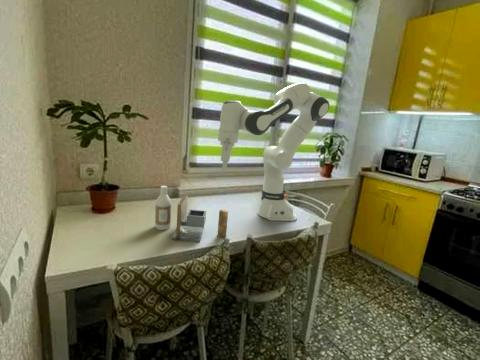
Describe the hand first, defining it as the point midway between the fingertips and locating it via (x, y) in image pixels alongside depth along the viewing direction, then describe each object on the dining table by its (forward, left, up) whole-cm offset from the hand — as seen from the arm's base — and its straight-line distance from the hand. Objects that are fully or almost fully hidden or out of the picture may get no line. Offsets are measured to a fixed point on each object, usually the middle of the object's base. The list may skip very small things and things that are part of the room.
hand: (224, 168), depth 128 cm
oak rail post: (-1, +7, -31) cm, 31 cm away
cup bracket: (+13, +7, -30) cm, 34 cm away
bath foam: (+27, +3, -31) cm, 41 cm away
